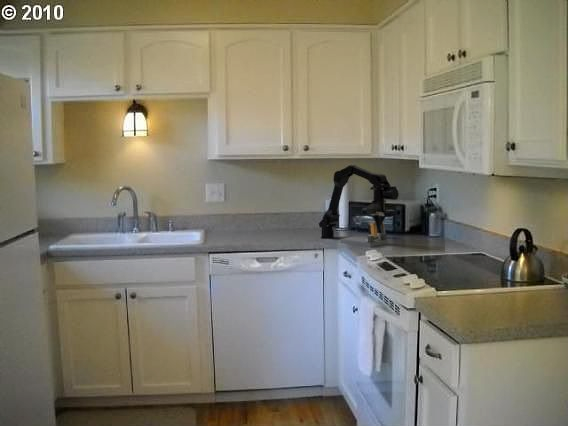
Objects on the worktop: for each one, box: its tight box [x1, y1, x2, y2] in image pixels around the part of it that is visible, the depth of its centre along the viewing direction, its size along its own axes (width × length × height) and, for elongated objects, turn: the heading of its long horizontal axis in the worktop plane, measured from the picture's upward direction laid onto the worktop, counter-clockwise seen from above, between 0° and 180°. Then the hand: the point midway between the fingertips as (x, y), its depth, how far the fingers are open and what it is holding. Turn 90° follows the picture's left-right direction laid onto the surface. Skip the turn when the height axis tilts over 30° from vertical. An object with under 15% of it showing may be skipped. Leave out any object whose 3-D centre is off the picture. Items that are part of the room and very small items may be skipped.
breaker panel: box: [340, 232, 389, 248], centre depth 301 cm, size 20×15×6 cm
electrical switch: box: [367, 220, 386, 235], centre depth 318 cm, size 9×5×9 cm, turn 57°
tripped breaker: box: [370, 223, 378, 240], centre depth 296 cm, size 2×4×9 cm, turn 134°
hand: (378, 228), depth 293 cm, fingers closed
